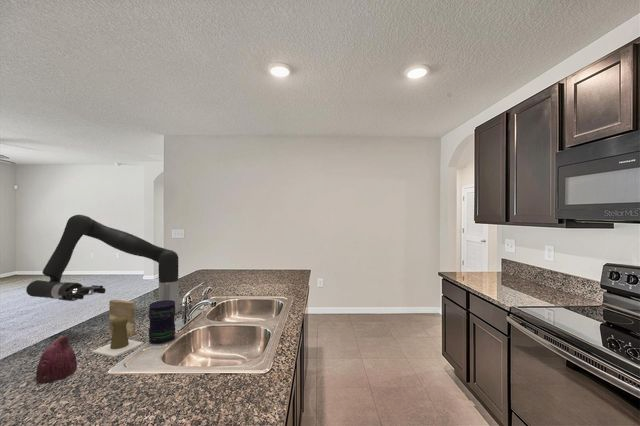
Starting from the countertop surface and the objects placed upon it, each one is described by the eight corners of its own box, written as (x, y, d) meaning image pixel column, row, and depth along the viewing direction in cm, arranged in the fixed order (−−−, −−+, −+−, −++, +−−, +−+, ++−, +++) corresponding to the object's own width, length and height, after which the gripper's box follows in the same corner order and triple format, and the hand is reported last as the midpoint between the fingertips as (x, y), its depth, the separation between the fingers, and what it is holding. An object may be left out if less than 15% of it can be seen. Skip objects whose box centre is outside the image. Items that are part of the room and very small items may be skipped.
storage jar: (143, 341, 120) (143, 304, 121) (165, 333, 129) (165, 299, 129) (158, 346, 116) (158, 308, 116) (180, 337, 125) (180, 302, 125)
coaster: (122, 340, 122) (122, 338, 122) (144, 344, 118) (144, 342, 118) (91, 352, 110) (91, 351, 110) (114, 357, 106) (114, 355, 106)
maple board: (115, 329, 133) (116, 298, 133) (137, 333, 128) (137, 301, 129) (106, 333, 129) (107, 301, 129) (128, 337, 125) (128, 304, 125)
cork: (132, 342, 118) (132, 315, 118) (120, 349, 112) (120, 320, 112) (118, 341, 118) (118, 314, 118) (106, 348, 112) (106, 320, 112)
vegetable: (81, 378, 98) (95, 334, 99) (44, 391, 89) (60, 343, 90) (63, 365, 102) (76, 323, 103) (25, 376, 92) (41, 330, 93)
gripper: (47, 286, 119) (74, 288, 114) (85, 278, 133) (110, 280, 128) (47, 305, 119) (75, 308, 114) (85, 295, 133) (111, 297, 128)
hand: (93, 293), depth 121 cm, fingers open, 8 cm apart
